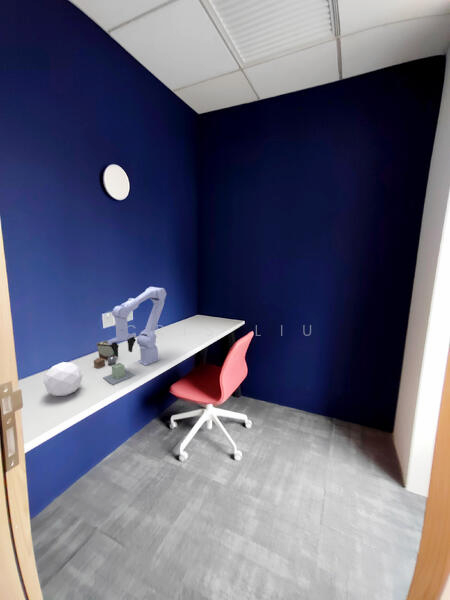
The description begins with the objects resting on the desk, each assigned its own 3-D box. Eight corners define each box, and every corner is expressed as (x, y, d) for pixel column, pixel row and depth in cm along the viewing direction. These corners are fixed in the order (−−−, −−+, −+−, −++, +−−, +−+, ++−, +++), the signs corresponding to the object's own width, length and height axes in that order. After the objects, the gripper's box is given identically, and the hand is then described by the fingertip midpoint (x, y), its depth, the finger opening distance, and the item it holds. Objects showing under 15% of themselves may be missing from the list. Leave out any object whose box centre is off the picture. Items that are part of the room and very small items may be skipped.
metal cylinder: (116, 361, 147) (115, 355, 146) (115, 365, 143) (115, 358, 142) (108, 362, 146) (108, 355, 145) (107, 365, 142) (107, 359, 141)
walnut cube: (100, 364, 144) (100, 357, 143) (105, 366, 142) (104, 359, 141) (94, 367, 141) (93, 360, 140) (98, 368, 139) (98, 362, 138)
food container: (122, 357, 154) (120, 341, 151) (115, 361, 148) (113, 345, 146) (105, 354, 157) (103, 339, 155) (97, 358, 151) (96, 342, 149)
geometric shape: (56, 405, 115) (33, 380, 113) (86, 381, 126) (65, 358, 124) (61, 403, 105) (36, 376, 103) (93, 377, 115) (70, 352, 113)
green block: (120, 373, 133) (119, 362, 132) (125, 375, 130) (124, 365, 129) (112, 376, 130) (111, 365, 129) (116, 379, 127) (115, 368, 126)
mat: (125, 369, 138) (125, 369, 138) (135, 375, 131) (135, 375, 131) (102, 378, 129) (102, 377, 128) (112, 385, 122) (112, 384, 122)
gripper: (130, 324, 139) (132, 347, 141) (104, 330, 128) (106, 355, 130) (137, 327, 134) (139, 351, 137) (111, 333, 123) (113, 359, 126)
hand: (123, 353), depth 133 cm, fingers open, 7 cm apart
